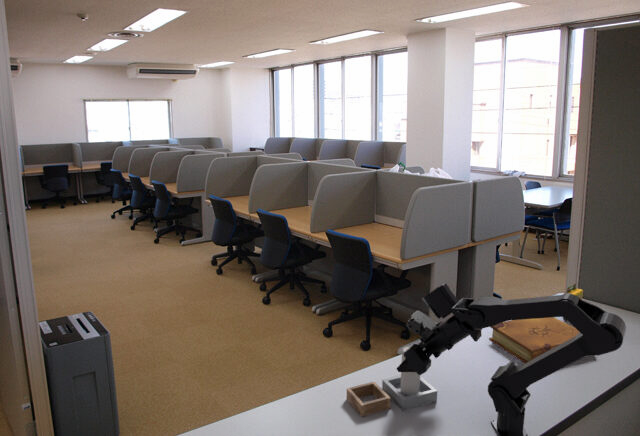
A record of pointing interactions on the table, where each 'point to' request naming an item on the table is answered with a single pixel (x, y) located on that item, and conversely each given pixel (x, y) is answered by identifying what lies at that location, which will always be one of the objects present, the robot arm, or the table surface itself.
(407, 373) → the beverage can
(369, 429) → the table surface
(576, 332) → the diary
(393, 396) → the tray
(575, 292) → the crayon box
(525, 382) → the robot arm
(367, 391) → the wooden frame
